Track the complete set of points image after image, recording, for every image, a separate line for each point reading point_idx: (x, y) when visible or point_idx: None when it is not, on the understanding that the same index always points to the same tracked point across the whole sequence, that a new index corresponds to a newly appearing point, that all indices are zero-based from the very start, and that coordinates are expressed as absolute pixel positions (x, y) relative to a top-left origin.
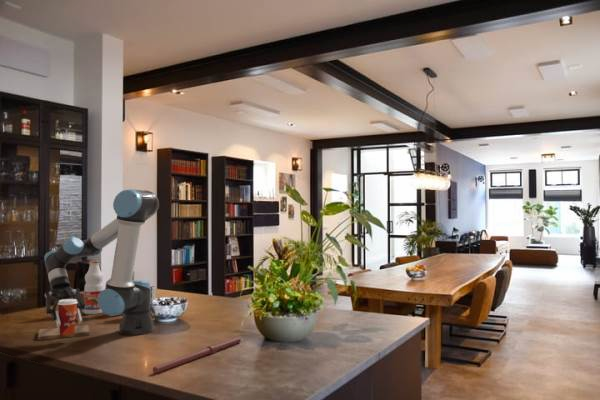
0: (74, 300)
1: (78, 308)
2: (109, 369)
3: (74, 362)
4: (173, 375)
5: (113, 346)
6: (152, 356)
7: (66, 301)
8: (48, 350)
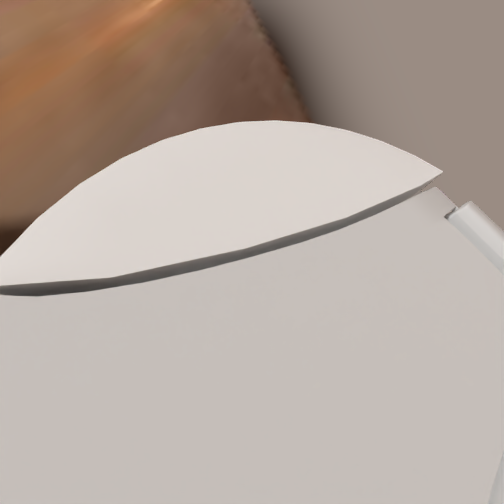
0: (163, 149)
1: None
2: (247, 18)
3: (294, 97)
4: None
5: (124, 146)
6: (117, 12)
7: (402, 171)
8: None
